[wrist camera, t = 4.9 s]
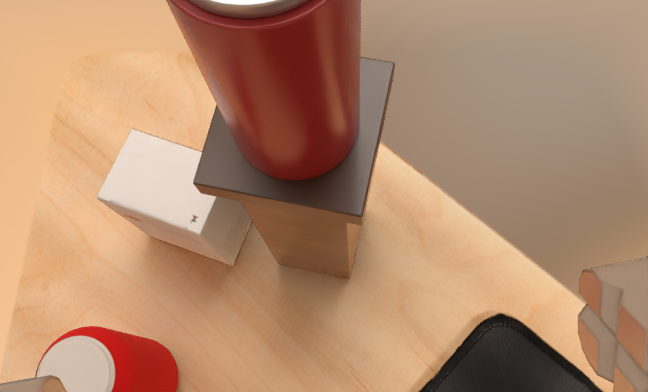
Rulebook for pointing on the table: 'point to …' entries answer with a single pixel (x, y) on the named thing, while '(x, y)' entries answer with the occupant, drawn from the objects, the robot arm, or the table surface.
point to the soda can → (281, 77)
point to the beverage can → (109, 362)
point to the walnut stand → (305, 187)
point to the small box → (172, 198)
